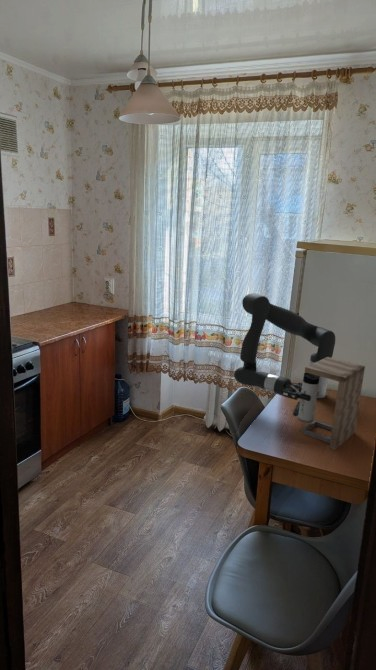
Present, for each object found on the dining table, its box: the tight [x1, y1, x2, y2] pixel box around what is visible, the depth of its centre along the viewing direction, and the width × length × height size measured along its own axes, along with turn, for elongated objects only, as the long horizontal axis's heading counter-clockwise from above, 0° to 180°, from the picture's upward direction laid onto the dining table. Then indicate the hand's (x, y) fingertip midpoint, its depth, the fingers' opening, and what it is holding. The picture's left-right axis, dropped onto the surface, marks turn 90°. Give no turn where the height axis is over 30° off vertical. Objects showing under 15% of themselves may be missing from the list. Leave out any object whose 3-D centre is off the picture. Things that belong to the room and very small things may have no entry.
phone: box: [292, 401, 300, 417], centre depth 206 cm, size 8×1×15 cm
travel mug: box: [297, 371, 320, 424], centre depth 186 cm, size 6×7×20 cm
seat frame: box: [300, 420, 333, 444], centre depth 184 cm, size 12×12×2 cm
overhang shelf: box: [304, 357, 366, 451], centre depth 180 cm, size 20×16×28 cm
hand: (314, 396), depth 184 cm, fingers closed on travel mug, 6 cm apart
